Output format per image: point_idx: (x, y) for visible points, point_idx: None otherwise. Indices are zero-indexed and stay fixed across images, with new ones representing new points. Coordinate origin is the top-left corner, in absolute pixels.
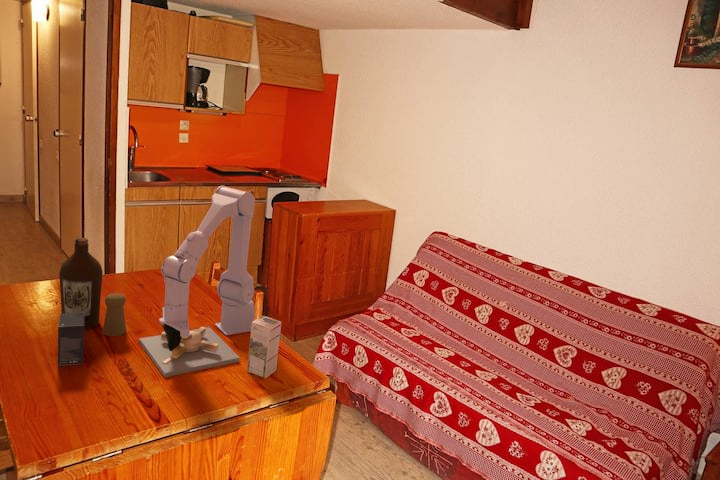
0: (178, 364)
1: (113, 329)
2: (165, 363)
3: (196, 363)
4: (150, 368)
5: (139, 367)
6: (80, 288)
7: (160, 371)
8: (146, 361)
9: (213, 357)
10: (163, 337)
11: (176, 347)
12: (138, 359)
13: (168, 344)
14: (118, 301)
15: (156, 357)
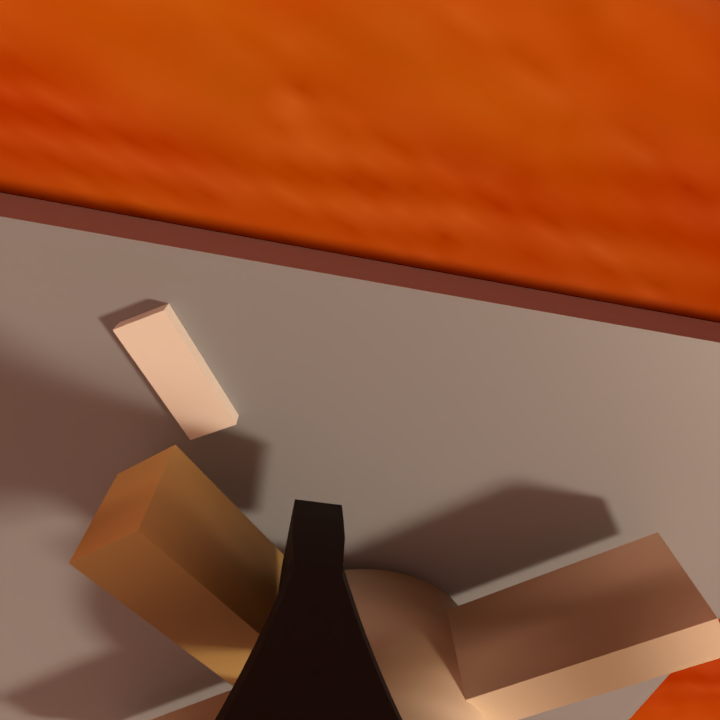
0: (51, 437)
1: None
2: (114, 328)
3: (12, 568)
4: (227, 141)
5: (335, 9)
6: None
7: (65, 206)
8: (434, 195)
9: (84, 687)
10: (645, 582)
11: (210, 604)
12: (553, 130)
13: (311, 575)
14: None
15: (354, 316)
